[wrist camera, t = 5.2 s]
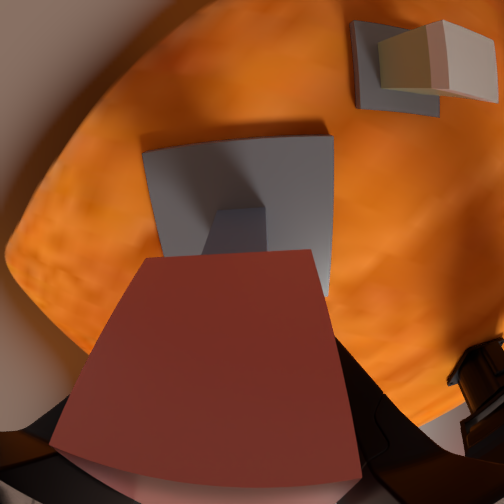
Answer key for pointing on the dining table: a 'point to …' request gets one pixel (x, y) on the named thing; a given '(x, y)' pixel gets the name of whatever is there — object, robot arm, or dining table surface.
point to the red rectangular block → (216, 387)
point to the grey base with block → (420, 66)
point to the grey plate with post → (245, 196)
